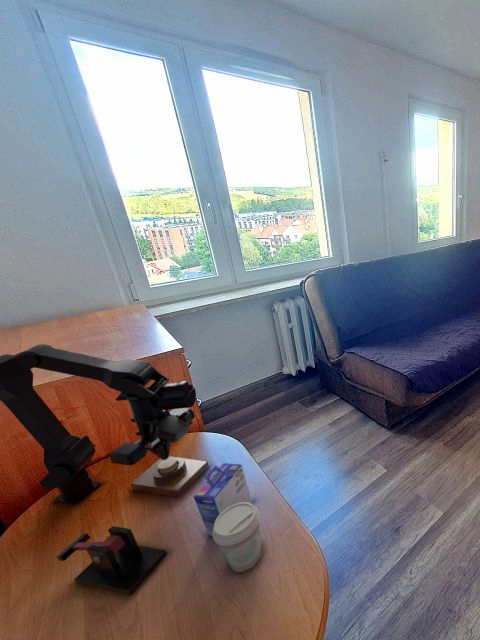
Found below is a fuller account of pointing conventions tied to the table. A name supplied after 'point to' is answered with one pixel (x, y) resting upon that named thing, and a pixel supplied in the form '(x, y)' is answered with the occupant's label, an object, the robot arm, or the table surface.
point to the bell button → (167, 465)
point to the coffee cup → (239, 535)
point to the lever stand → (120, 564)
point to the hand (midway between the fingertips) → (165, 459)
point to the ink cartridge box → (221, 492)
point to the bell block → (170, 477)
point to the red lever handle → (81, 544)
